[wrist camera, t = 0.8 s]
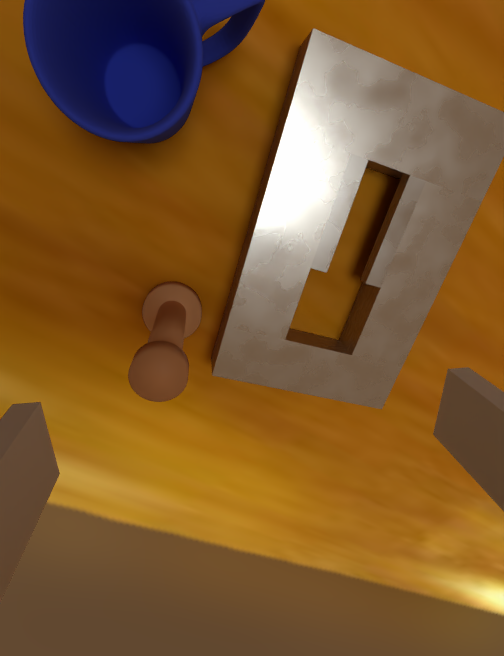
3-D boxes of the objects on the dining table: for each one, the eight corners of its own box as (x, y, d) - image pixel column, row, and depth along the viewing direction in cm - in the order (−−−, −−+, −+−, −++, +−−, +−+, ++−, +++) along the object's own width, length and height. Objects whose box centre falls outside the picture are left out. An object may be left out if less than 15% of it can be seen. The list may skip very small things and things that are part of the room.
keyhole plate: (367, 390, 39) (381, 409, 36) (211, 358, 35) (212, 375, 32) (488, 126, 30) (521, 119, 27) (300, 45, 27) (313, 28, 24)
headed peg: (139, 327, 33) (107, 405, 22) (150, 275, 32) (121, 328, 20) (194, 339, 34) (190, 419, 23) (207, 289, 33) (210, 348, 21)
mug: (266, 102, 28) (299, 64, 19) (125, 172, 28) (89, 169, 19) (219, -28, 25) (230, -151, 15) (61, 54, 25) (-20, -19, 16)
